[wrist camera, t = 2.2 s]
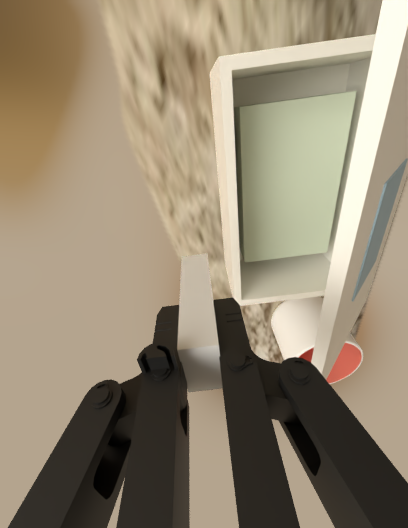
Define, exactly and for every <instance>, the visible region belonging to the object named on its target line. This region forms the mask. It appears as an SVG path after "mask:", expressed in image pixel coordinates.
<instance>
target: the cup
mask: <svg viewBox="0 0 408 528" xmlns="http://www.w3.org/2000/svg"><path fill="white" fill-rule="evenodd" d="M323 300H324V299H323V298H322V297H319V296H317V297H309V298H301V299H293V300H285V301H284V302H282V303H281V304H280V305H279V306H278V307H277V308H276V310H275V311H274V313H273V315H272V319H271V325H272V329H273V332H274V334H275V337H276V340H277V342H278V345H279V348H280V350H281V353H282V356H283V358H284V360H286V359H288V358H292V357H298V358H303V359H305V360H307V361H309V362H311V360H312V355H313V350H314V345H315V340H316V335H317V330H318V325H319V320H320V315H321V310H322V305H323ZM362 360H363V351H362V349H361V347H360V346H359V344H358V343H357V342H356V340H355V339H354V337H353V336H352V335H351V333H350V334H349V336H348V338H347V340H346V342H345V344H344V346H343V348H342V350H341V352H340V353H339V355H338V357H337V359H336V361H335V363H334V365H333V367H332V369H331V371H330V373H329V375H328V377H327V379H326V380H327V382H328V383H329V384H331V383H335V382H337V381H340V380H342V379H344V378H346V377H348V376H349V375H351V374H352V373H353V372H354V371H356V369H357V368H358V367H359V366H360V364H361V363H362Z"/></svg>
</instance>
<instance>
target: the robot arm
mask: <svg viewBox="0 0 408 528" xmlns="http://www.w3.org/2000/svg"><path fill="white" fill-rule="evenodd" d="M137 361H138V363H139V366H140V368H141V371H142V373H141V374H139V375H138V376H136V377H134V378H133V379H130V380H128V381H126V382H123V383H121V384H118V382H116V381H114V380H104V381H102V382H99V383H98V384H96V385H95V386H94V387H92V388H91V389H90V390H89V391H88V393H87V394H86V395H85V397H84V399H83V401H82V402H81V404H80V406H79V407H78V409H77V411H76V412H75V414H74V416H73V418H72V419H71V421H70V423H69V424H68V426H67V428H66V429H65V431H64V433H63V434H62V436H61V438H60V440H59V441H58V443H57V445H56V446H55V448H54V450H53V452H52V453H51V455H50V457H49V458H48V460H47V462H46V463H45V465H44V467H43V469H42V470H41V472H40V474H39V475H38V477H37V479H36V481H35V482H34V484H33V486H32V487H31V489H30V491H29V492H28V494H27V496H26V498H25V500H24V501H23V503H22V504H21V506H20V508H19V509H18V511H17V513H16V515H15V516H14V518H13V520H12V521H11V523H10V525H9V527H8V528H107V526H108V523H109V520H110V517H111V515H112V512H113V509H114V506H115V503H116V500H117V497H118V495H119V492H120V489H121V486H122V484H123V481H124V478H125V481H124V487H123V492H122V498H121V504H120V510H119V516H118V521H117V527H116V528H189V405H188V400H187V388H188V392H195V391H203V390H213V389H221V388H223V395H224V403H225V412H226V419H227V428H228V437H229V446H230V454H231V463H232V471H233V479H234V487H235V496H236V505H237V513H238V521H239V528H300V526H299V522H298V518H297V515H296V511H295V507H294V504H293V499H292V495H291V492H290V488H289V484H288V480H287V476H286V473H285V469H284V465H283V461H282V457H281V454H280V450H279V446H278V442H277V438H276V435H275V431H274V427H273V424H272V420H271V419H275V420H279V422H280V424H281V426H282V428H283V430H284V431H285V433H286V435H287V437H288V439H289V441H290V443H291V445H292V446H293V449H294V450H295V452H296V454H297V456H298V458H299V460H300V462H301V464H302V466H303V468H304V469H305V471H306V473H307V475H308V477H309V479H310V481H311V483H312V485H313V486H314V489H315V490H316V492H317V494H318V496H319V498H320V500H321V502H322V504H323V506H324V508H325V510H326V511H327V513H328V515H329V517H330V519H331V521H332V523H333V525H334V527H335V528H408V483H407V482H406V481H405V479H404V478H403V477H402V475H401V474H400V473H399V472H398V470H397V469H396V468H395V467H394V465H393V464H392V463H391V461H390V460H389V459H388V458H387V457H386V455H385V454H384V453H383V451H382V450H381V449H380V448H379V446H378V445H377V444H376V442H375V441H374V440H373V439H372V438H371V436H370V435H369V434H368V432H367V431H366V430H365V429H364V427H363V426H362V425H361V423H360V422H359V421H358V420H357V418H355V416H354V415H353V413H352V412H351V411H350V410H349V408H348V407H347V406H346V405H345V403H344V402H343V401H342V399H341V398H340V397H339V396H338V394H337V393H336V392H335V391H334V389H333V388H332V387H331V386H330V384H329V383H328V382H327V380H326V379H325V378H324V377H323V375H322V374H321V373H320V372H319V370H318V369H317V368H316V367H315V366H314V365H313V364H312V363H311V362H309V361H307V360H305V359H303V358H298V357H292V358H288V359H286V360H284V361H283V362H282V363H281V364H280V363H275V362H269V361H266V360H263V359H261V358H259V357H258V356H257V355H255V354H254V352H253V351H252V350H251V347H250V344H249V340H248V336H247V333H246V329H245V325H244V321H243V317H242V314H241V309H240V305H239V303H238V302H237V301H236V300H235V299H234V298H226V299H218V300H213V295H212V287H211V279H210V271H209V263H208V256H207V253H206V254H198V255H191V256H183V257H182V263H181V285H180V304H179V305H175V306H166V307H162V308H161V310H160V311H159V313H158V315H157V320H156V326H155V333H154V339H153V344H151V345H149V346H147V347H146V348H144V349H143V350H142V352H141V353H140V354H139V356H138V359H137Z"/></svg>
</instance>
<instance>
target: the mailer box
mask: <svg viewBox="0 0 408 528" xmlns="http://www.w3.org/2000/svg"><path fill="white" fill-rule="evenodd" d="M375 36H376V34H373V35H366V36H359V37H352V38H345V39H338V40H331V41H324V42H317V43H310V44H303V45H296V46H289V47H282V48H275V49H268V50H261V51H254V52H246V53H239V54H232V55H225V56H219V57H218V59H217V61H216V63H215V64H214V66H213V68H212V70H211V72H210V85H211V97H212V110H213V122H214V134H215V146H216V158H217V171H218V183H219V195H220V207H221V219H222V232H223V244H224V256H225V265H226V270H227V274H228V279H229V283H230V288H231V292H232V296H233V298H234V299H235V300H236V301H237V302H238V303H239V305H240V306H243V305H251V304H259V303H268V302H276V301H284V300H293V299H301V298H309V297H317V296H324V294H325V289H326V284H327V279H328V274H329V269H330V264H331V259H332V254H333V249H334V244H335V239H336V234H337V229H338V224H339V219H340V213H341V208H342V203H343V198H344V193H345V188H346V183H347V178H348V173H349V168H350V163H351V158H352V153H353V148H354V143H355V138H356V132H357V127H358V122H359V117H360V112H361V107H362V102H363V97H364V92H365V87H366V82H367V77H368V72H369V67H370V62H371V57H372V51H373V46H374V41H375Z"/></svg>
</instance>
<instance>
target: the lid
mask: <svg viewBox="0 0 408 528" xmlns="http://www.w3.org/2000/svg"><path fill="white" fill-rule="evenodd" d="M407 175H408V0H383V1H382V6H381V11H380V16H379V21H378V26H377V31H376V36H375V41H374V46H373V51H372V57H371V62H370V67H369V72H368V77H367V82H366V87H365V92H364V97H363V102H362V107H361V112H360V117H359V122H358V127H357V132H356V138H355V143H354V148H353V153H352V158H351V163H350V168H349V173H348V178H347V183H346V188H345V193H344V198H343V203H342V208H341V213H340V219H339V224H338V229H337V234H336V239H335V244H334V249H333V254H332V259H331V264H330V269H329V274H328V279H327V284H326V289H325V294H324V300H323V305H322V310H321V315H320V320H319V325H318V330H317V335H316V340H315V345H314V350H313V355H312V360H311V363H312V364H313V365H314V366H315V367H316V368H317V369H318V370H319V372H320V373H321V374H322V375H323V377H324V378H325V379H327V377H328V375H329V373H330V371H331V369H332V367H333V365H334V363H335V361H336V359H337V357H338V355H339V353H340V352H341V350H342V348H343V346H344V344H345V342H346V340H347V338H348V336H349V334H350V332H351V330H352V328H353V326H354V324H355V322H356V320H357V318H358V316H359V314H360V312H361V310H362V308H363V306H364V304H365V302H366V300H367V298H368V295H369V292H370V289H371V286H372V283H373V280H374V277H375V274H376V271H377V267H378V264H379V261H380V258H381V255H382V252H383V249H384V246H385V243H386V240H387V237H388V234H389V231H390V228H391V224H392V221H393V218H394V215H395V212H396V209H397V206H398V203H399V200H400V197H401V194H402V191H403V188H404V184H405V181H406V178H407Z"/></svg>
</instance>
